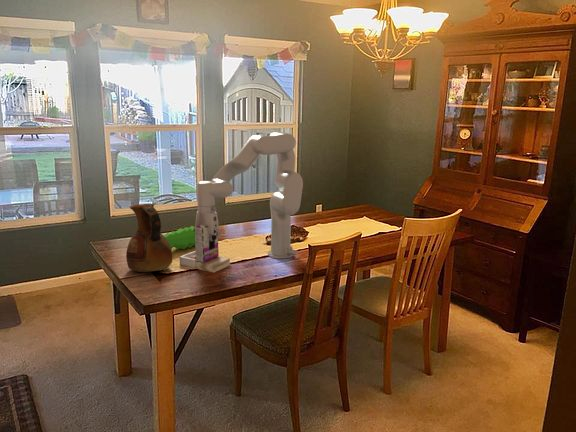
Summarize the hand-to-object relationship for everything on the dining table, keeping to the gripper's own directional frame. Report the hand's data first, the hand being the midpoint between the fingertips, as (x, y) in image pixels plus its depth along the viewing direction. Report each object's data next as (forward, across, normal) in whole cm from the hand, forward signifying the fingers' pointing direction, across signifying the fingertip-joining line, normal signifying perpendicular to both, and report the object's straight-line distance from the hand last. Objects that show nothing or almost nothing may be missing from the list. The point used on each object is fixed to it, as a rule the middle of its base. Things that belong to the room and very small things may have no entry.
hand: (206, 247), depth 232 cm
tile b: (+6, +4, +3) cm, 8 cm away
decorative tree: (+9, +28, -14) cm, 32 cm away
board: (+9, -3, 0) cm, 9 cm away
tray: (+9, +7, 0) cm, 11 cm away
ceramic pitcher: (+9, +18, +18) cm, 27 cm away
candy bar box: (+6, 0, 0) cm, 6 cm away
